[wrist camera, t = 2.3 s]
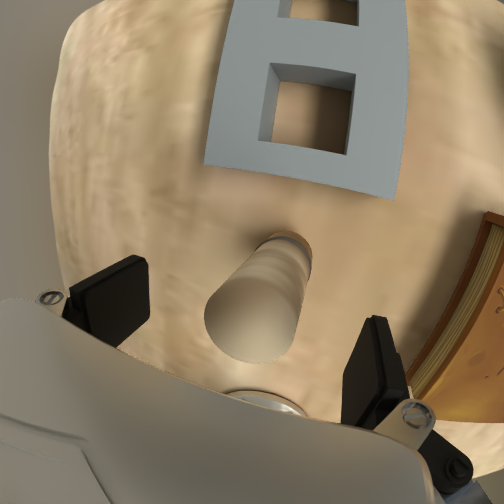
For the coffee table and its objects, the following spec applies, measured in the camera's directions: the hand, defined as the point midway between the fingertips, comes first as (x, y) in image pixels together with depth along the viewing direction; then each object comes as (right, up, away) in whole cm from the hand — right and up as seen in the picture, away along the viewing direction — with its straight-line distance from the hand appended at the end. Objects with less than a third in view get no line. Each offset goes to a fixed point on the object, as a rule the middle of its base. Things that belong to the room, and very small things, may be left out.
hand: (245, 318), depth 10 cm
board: (+6, +18, +7) cm, 20 cm away
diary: (+29, -6, +8) cm, 30 cm away
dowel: (+3, +3, +12) cm, 13 cm away
